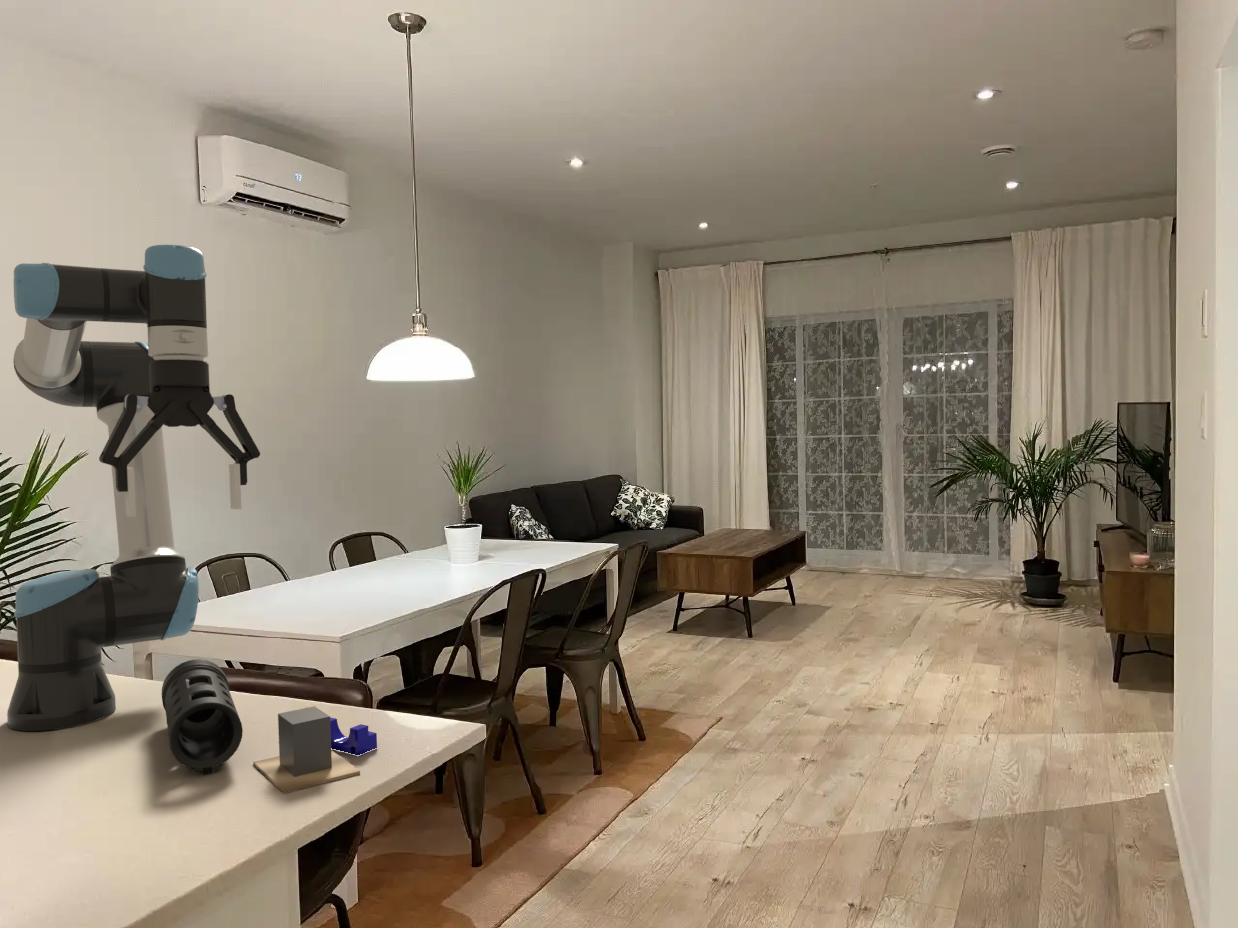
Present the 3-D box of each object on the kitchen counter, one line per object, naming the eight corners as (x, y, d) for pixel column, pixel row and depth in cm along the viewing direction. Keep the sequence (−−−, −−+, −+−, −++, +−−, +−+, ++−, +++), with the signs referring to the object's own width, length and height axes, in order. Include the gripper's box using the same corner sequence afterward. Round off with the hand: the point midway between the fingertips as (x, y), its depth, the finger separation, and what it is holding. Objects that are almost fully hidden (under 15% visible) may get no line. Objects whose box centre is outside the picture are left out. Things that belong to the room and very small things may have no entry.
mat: (253, 764, 127) (253, 761, 127) (325, 748, 133) (324, 745, 133) (284, 793, 117) (283, 790, 117) (360, 773, 123) (360, 770, 123)
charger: (276, 761, 127) (274, 710, 127) (312, 752, 130) (310, 703, 130) (294, 776, 121) (292, 724, 121) (331, 767, 124) (330, 716, 124)
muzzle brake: (168, 784, 121) (165, 706, 121) (162, 725, 146) (159, 660, 146) (246, 770, 126) (243, 695, 125) (227, 715, 150) (225, 652, 150)
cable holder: (377, 750, 133) (376, 722, 132) (358, 757, 130) (357, 729, 130) (339, 740, 137) (338, 714, 137) (319, 748, 134) (318, 720, 134)
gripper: (79, 355, 118) (87, 521, 119) (278, 360, 133) (284, 507, 134) (71, 359, 124) (78, 517, 125) (262, 363, 139) (268, 504, 140)
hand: (185, 512), depth 129 cm, fingers open, 13 cm apart
